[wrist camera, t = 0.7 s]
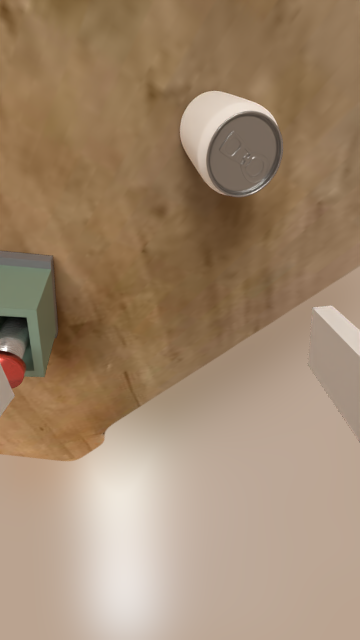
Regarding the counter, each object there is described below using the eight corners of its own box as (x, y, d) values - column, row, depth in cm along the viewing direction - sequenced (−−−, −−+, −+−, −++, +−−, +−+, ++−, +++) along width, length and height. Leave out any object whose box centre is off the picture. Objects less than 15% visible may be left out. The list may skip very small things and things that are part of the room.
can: (213, 177, 35) (244, 218, 26) (166, 137, 32) (182, 168, 23) (255, 121, 32) (307, 146, 23) (207, 72, 29) (245, 78, 20)
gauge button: (-1, 299, 36) (-33, 358, 29) (40, 302, 37) (20, 360, 30) (5, 329, 38) (-22, 389, 31) (43, 331, 39) (25, 389, 32)
